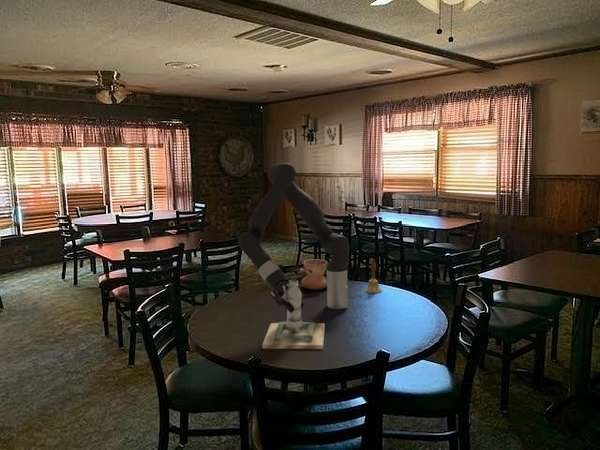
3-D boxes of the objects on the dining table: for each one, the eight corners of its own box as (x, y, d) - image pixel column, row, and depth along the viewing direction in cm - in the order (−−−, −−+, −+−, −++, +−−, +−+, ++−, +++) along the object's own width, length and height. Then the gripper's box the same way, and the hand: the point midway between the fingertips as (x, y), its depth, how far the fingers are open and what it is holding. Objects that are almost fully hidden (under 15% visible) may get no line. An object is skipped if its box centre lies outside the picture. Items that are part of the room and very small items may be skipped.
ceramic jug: (305, 293, 238) (305, 266, 236) (295, 286, 251) (295, 260, 249) (337, 289, 244) (338, 263, 242) (326, 282, 258) (326, 257, 255)
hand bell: (363, 289, 243) (363, 258, 241) (379, 288, 244) (379, 257, 242) (367, 293, 235) (367, 262, 232) (383, 292, 236) (383, 261, 233)
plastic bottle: (291, 336, 178) (289, 284, 174) (283, 330, 184) (281, 280, 180) (306, 332, 181) (305, 281, 177) (298, 326, 186) (296, 277, 183)
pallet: (324, 326, 192) (324, 318, 192) (322, 349, 170) (322, 339, 170) (271, 326, 194) (270, 318, 194) (262, 348, 172) (262, 339, 172)
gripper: (265, 272, 177) (292, 308, 172) (288, 264, 188) (314, 298, 184) (255, 284, 181) (281, 320, 176) (278, 276, 192) (303, 309, 187)
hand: (297, 308), depth 180 cm, fingers closed on plastic bottle, 6 cm apart
